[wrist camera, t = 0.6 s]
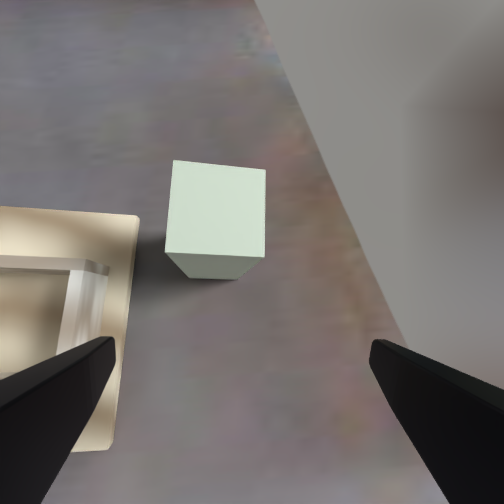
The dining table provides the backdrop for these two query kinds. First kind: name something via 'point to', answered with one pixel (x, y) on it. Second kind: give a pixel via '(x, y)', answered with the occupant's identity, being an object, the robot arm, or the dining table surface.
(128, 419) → the dining table surface
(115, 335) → the holder
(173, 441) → the dining table surface
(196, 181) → the peg
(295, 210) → the dining table surface
